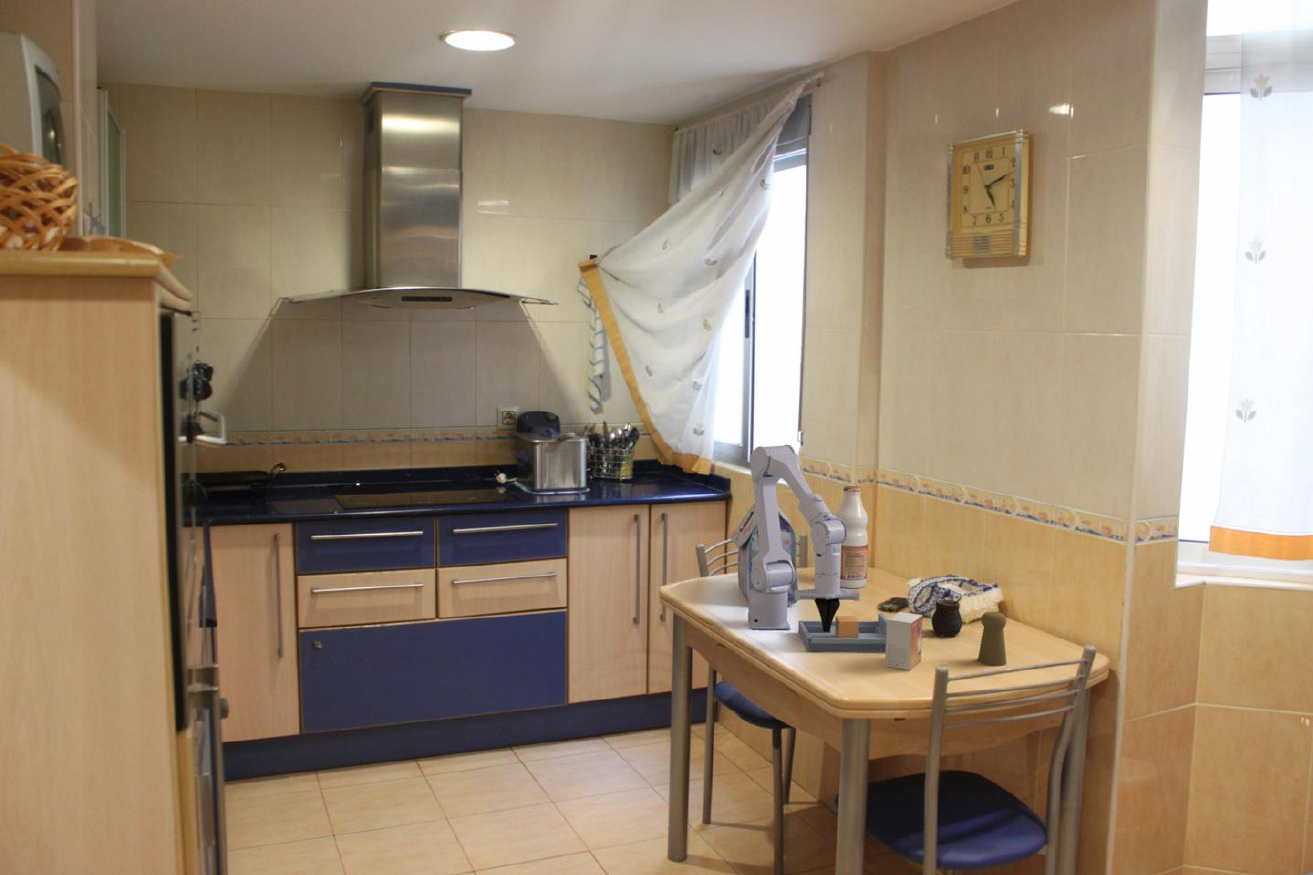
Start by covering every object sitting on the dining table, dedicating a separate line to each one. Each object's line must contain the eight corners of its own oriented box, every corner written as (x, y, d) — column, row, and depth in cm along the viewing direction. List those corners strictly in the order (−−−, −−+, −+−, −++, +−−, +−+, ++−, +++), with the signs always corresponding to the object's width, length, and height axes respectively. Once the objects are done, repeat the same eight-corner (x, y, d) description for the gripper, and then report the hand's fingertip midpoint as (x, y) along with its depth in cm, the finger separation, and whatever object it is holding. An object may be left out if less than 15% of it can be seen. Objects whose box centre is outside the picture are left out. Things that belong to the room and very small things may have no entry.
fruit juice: (826, 584, 308) (828, 486, 305) (846, 579, 315) (848, 483, 312) (853, 590, 302) (856, 490, 299) (873, 585, 308) (876, 487, 305)
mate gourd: (940, 628, 265) (942, 588, 264) (968, 635, 260) (971, 594, 259) (924, 633, 260) (926, 592, 259) (953, 641, 255) (955, 599, 254)
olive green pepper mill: (973, 657, 242) (975, 609, 241) (999, 657, 242) (1002, 608, 241) (983, 666, 236) (985, 616, 235) (1011, 665, 236) (1013, 616, 235)
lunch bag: (728, 586, 305) (729, 493, 302) (787, 586, 306) (790, 493, 303) (737, 607, 283) (738, 506, 280) (801, 607, 283) (804, 507, 280)
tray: (807, 651, 245) (808, 630, 244) (798, 632, 260) (798, 612, 259) (896, 652, 245) (897, 630, 245) (881, 633, 260) (882, 612, 260)
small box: (909, 671, 232) (911, 623, 231) (884, 666, 235) (885, 619, 234) (921, 661, 239) (923, 614, 237) (897, 657, 242) (898, 610, 240)
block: (838, 640, 247) (839, 621, 246) (835, 635, 251) (835, 616, 251) (858, 640, 247) (859, 621, 246) (854, 635, 251) (855, 616, 251)
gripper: (798, 576, 244) (796, 635, 245) (863, 576, 244) (861, 635, 245) (793, 569, 251) (792, 626, 252) (856, 569, 251) (855, 627, 252)
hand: (826, 630), depth 249 cm, fingers closed
